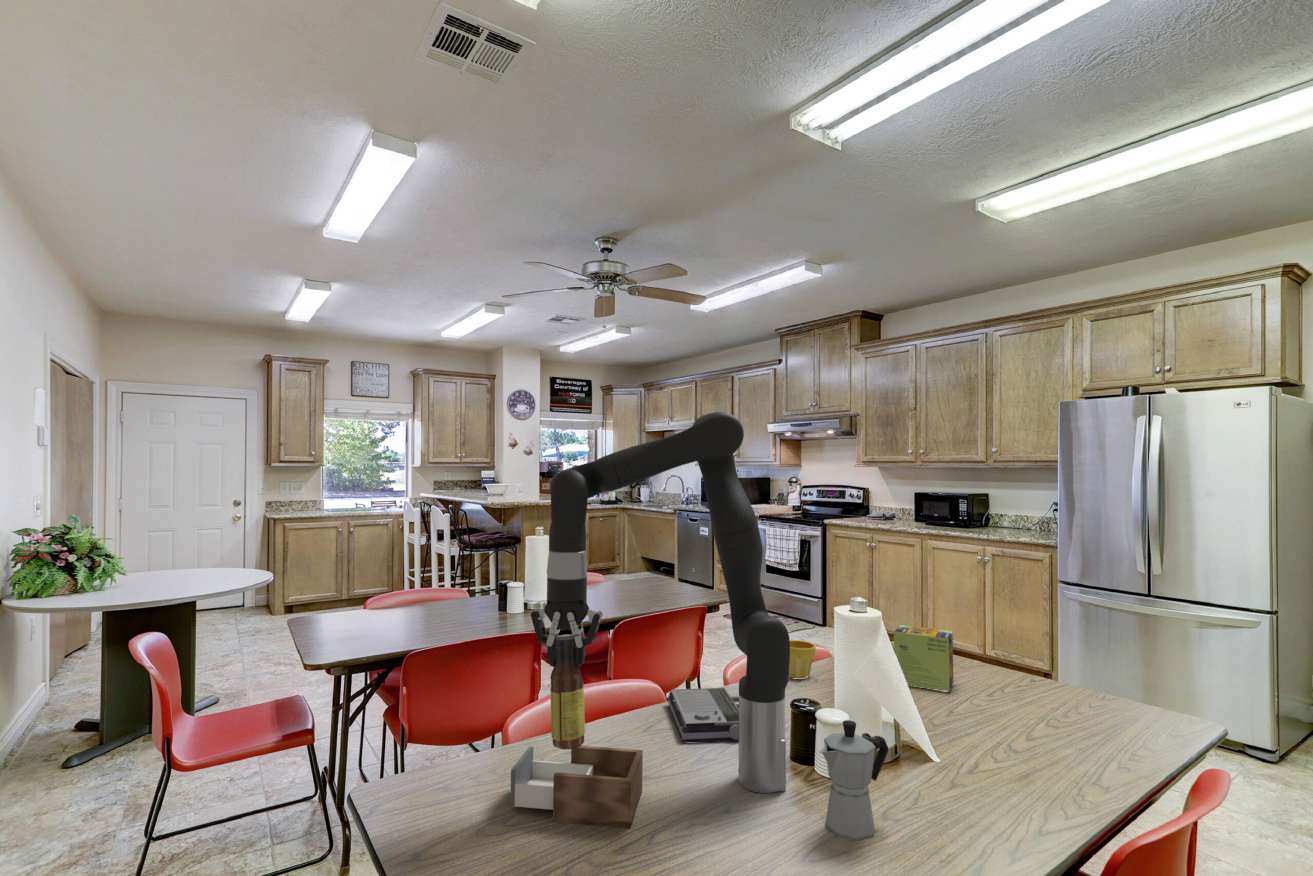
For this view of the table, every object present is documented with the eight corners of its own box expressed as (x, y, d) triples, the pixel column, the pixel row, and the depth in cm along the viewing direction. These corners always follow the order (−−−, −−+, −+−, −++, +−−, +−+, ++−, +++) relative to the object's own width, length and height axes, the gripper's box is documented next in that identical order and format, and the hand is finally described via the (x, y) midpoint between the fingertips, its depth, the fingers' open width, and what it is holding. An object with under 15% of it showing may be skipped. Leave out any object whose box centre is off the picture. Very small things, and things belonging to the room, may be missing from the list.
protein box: (950, 694, 182) (949, 638, 182) (893, 684, 189) (892, 631, 190) (954, 683, 191) (953, 630, 191) (899, 674, 198) (899, 624, 199)
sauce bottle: (590, 739, 122) (590, 634, 123) (575, 753, 116) (576, 642, 117) (559, 735, 125) (560, 631, 126) (543, 748, 119) (544, 639, 120)
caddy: (642, 792, 124) (642, 750, 125) (630, 828, 112) (631, 781, 112) (572, 786, 126) (572, 745, 127) (552, 821, 114) (553, 775, 114)
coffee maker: (837, 848, 107) (836, 737, 107) (804, 821, 115) (804, 718, 116) (905, 828, 112) (904, 724, 113) (870, 804, 121) (869, 707, 121)
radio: (667, 686, 171) (740, 684, 173) (667, 707, 170) (740, 704, 173) (682, 722, 146) (767, 719, 149) (682, 746, 146) (767, 742, 149)
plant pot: (814, 672, 200) (814, 640, 200) (816, 683, 190) (816, 649, 190) (780, 670, 202) (780, 638, 202) (780, 680, 192) (780, 647, 192)
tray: (593, 785, 124) (593, 751, 125) (580, 812, 114) (580, 775, 115) (528, 779, 126) (529, 746, 126) (510, 806, 116) (511, 769, 117)
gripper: (608, 572, 125) (607, 662, 124) (537, 570, 127) (536, 658, 126) (599, 579, 117) (598, 674, 117) (524, 576, 119) (522, 670, 119)
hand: (565, 665), depth 121 cm, fingers closed on sauce bottle, 4 cm apart
